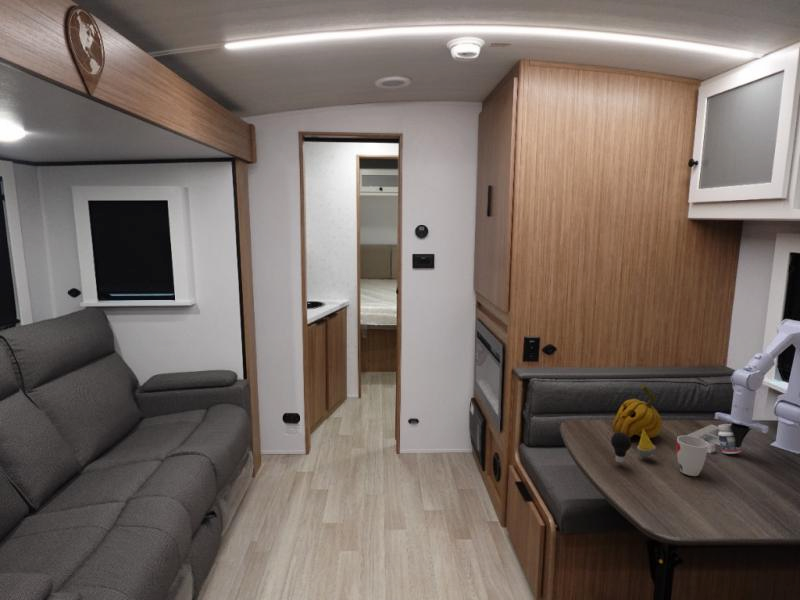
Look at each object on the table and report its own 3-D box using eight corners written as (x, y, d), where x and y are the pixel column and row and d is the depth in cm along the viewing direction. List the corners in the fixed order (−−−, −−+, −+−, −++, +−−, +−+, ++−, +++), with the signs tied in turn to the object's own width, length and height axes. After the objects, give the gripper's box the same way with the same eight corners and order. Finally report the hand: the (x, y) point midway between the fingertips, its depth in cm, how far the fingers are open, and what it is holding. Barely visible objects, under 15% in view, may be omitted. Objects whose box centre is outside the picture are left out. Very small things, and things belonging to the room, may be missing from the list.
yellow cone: (659, 460, 152) (654, 431, 151) (641, 462, 153) (636, 433, 152) (654, 453, 157) (649, 424, 156) (636, 455, 159) (632, 426, 158)
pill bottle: (719, 451, 161) (713, 424, 163) (736, 449, 161) (729, 423, 162) (726, 454, 156) (720, 427, 158) (744, 453, 155) (737, 425, 157)
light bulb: (606, 463, 152) (608, 433, 150) (613, 456, 156) (615, 427, 155) (626, 469, 148) (628, 438, 146) (632, 462, 152) (634, 433, 151)
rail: (710, 430, 177) (711, 424, 177) (737, 439, 170) (738, 433, 169) (682, 443, 166) (683, 436, 166) (710, 453, 159) (711, 446, 159)
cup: (678, 462, 152) (681, 433, 151) (708, 472, 147) (711, 441, 145) (670, 471, 147) (673, 441, 145) (700, 481, 141) (704, 449, 139)
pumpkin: (649, 459, 167) (685, 414, 165) (618, 436, 163) (654, 390, 162) (625, 440, 180) (657, 398, 179) (595, 419, 176) (628, 376, 175)
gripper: (712, 401, 158) (707, 440, 160) (764, 415, 147) (758, 457, 148) (722, 398, 162) (717, 436, 164) (773, 411, 151) (767, 452, 152)
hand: (737, 446), depth 156 cm, fingers closed, pressing on pill bottle
